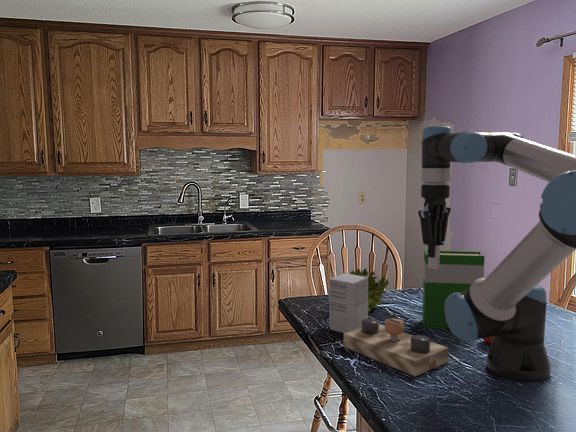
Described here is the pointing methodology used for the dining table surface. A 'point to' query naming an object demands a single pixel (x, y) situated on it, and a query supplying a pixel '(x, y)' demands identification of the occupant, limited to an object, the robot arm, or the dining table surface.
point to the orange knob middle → (394, 328)
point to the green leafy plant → (373, 287)
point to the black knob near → (420, 344)
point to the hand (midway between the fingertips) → (433, 268)
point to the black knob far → (370, 326)
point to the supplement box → (347, 302)
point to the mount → (396, 351)
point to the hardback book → (447, 282)
